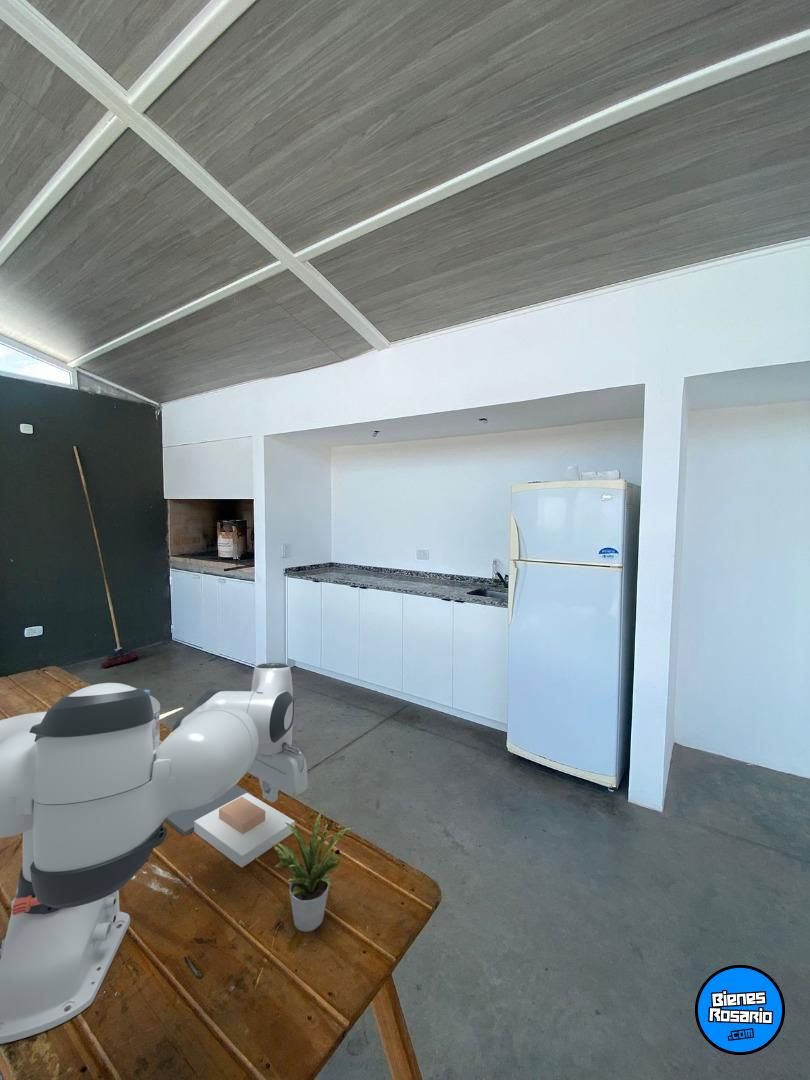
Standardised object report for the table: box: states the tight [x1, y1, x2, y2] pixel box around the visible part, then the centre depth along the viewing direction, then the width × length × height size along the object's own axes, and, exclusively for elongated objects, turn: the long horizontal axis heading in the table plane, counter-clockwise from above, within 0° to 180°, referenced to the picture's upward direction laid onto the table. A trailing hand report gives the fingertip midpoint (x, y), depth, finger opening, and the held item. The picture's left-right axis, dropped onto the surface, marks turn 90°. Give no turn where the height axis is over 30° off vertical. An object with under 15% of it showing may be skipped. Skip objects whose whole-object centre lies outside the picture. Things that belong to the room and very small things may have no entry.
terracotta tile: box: [219, 797, 266, 834], centre depth 104 cm, size 9×6×2 cm, turn 55°
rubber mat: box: [164, 783, 254, 837], centre depth 113 cm, size 16×18×1 cm
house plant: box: [272, 811, 355, 933], centre depth 82 cm, size 14×14×16 cm
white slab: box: [193, 793, 296, 868], centre depth 103 cm, size 18×14×2 cm
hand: (270, 799), depth 98 cm, fingers closed
